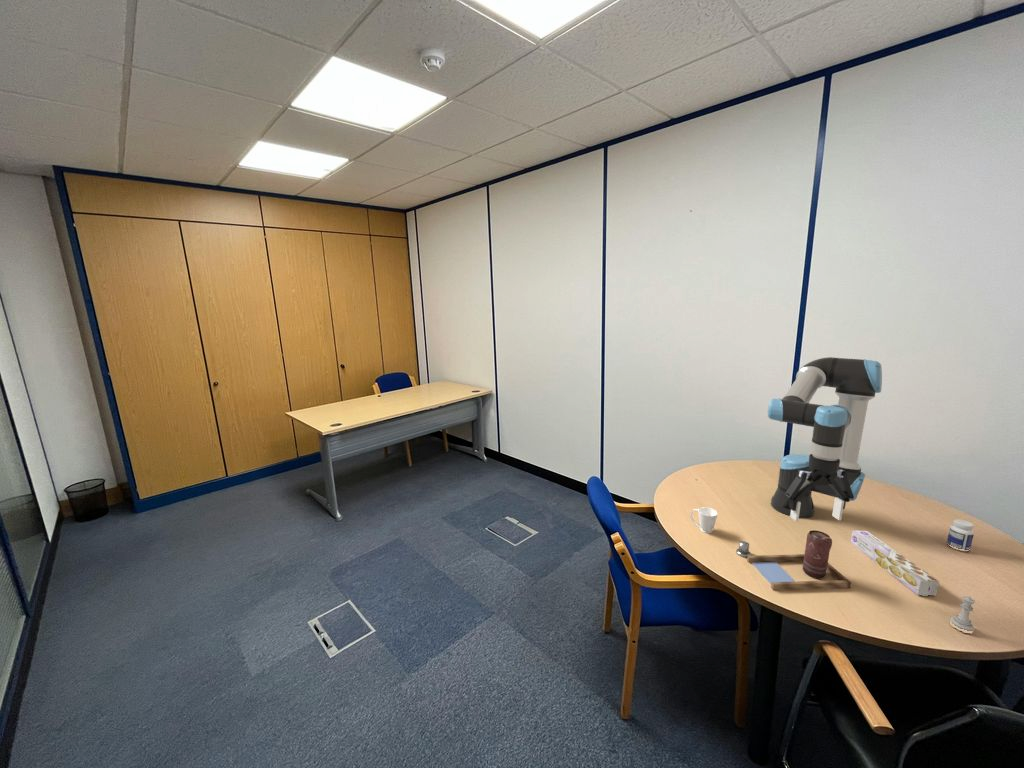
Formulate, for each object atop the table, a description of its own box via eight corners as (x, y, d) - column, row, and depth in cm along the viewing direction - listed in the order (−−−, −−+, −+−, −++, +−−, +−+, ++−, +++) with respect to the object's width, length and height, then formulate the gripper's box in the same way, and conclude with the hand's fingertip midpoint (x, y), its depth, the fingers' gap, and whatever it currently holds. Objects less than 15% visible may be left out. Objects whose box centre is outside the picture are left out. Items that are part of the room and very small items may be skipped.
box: (849, 543, 148) (851, 529, 146) (864, 543, 147) (867, 529, 146) (918, 598, 121) (922, 581, 120) (937, 598, 121) (941, 581, 119)
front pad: (775, 562, 138) (775, 561, 137) (798, 586, 127) (798, 584, 127) (752, 563, 138) (752, 562, 137) (773, 586, 127) (773, 585, 127)
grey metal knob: (745, 549, 145) (747, 539, 144) (753, 557, 141) (754, 547, 140) (733, 549, 145) (734, 540, 144) (740, 557, 141) (741, 547, 140)
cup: (711, 537, 152) (713, 518, 151) (685, 526, 160) (687, 508, 158) (719, 530, 157) (721, 511, 155) (694, 520, 164) (695, 502, 163)
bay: (816, 559, 139) (817, 553, 138) (850, 587, 125) (851, 582, 125) (747, 561, 139) (747, 555, 138) (772, 590, 125) (773, 584, 125)
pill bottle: (962, 544, 145) (968, 519, 142) (974, 554, 139) (980, 528, 137) (942, 541, 146) (947, 516, 144) (952, 551, 141) (958, 525, 139)
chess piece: (974, 637, 107) (983, 605, 104) (950, 628, 110) (958, 597, 107) (972, 627, 110) (980, 595, 108) (948, 619, 113) (956, 588, 111)
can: (827, 582, 128) (833, 542, 125) (802, 575, 131) (808, 536, 128) (825, 571, 133) (831, 533, 130) (801, 564, 136) (807, 527, 133)
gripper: (854, 450, 128) (844, 511, 133) (776, 452, 128) (768, 513, 133) (875, 460, 121) (864, 524, 125) (792, 462, 121) (784, 526, 125)
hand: (815, 518), depth 129 cm, fingers open, 13 cm apart
